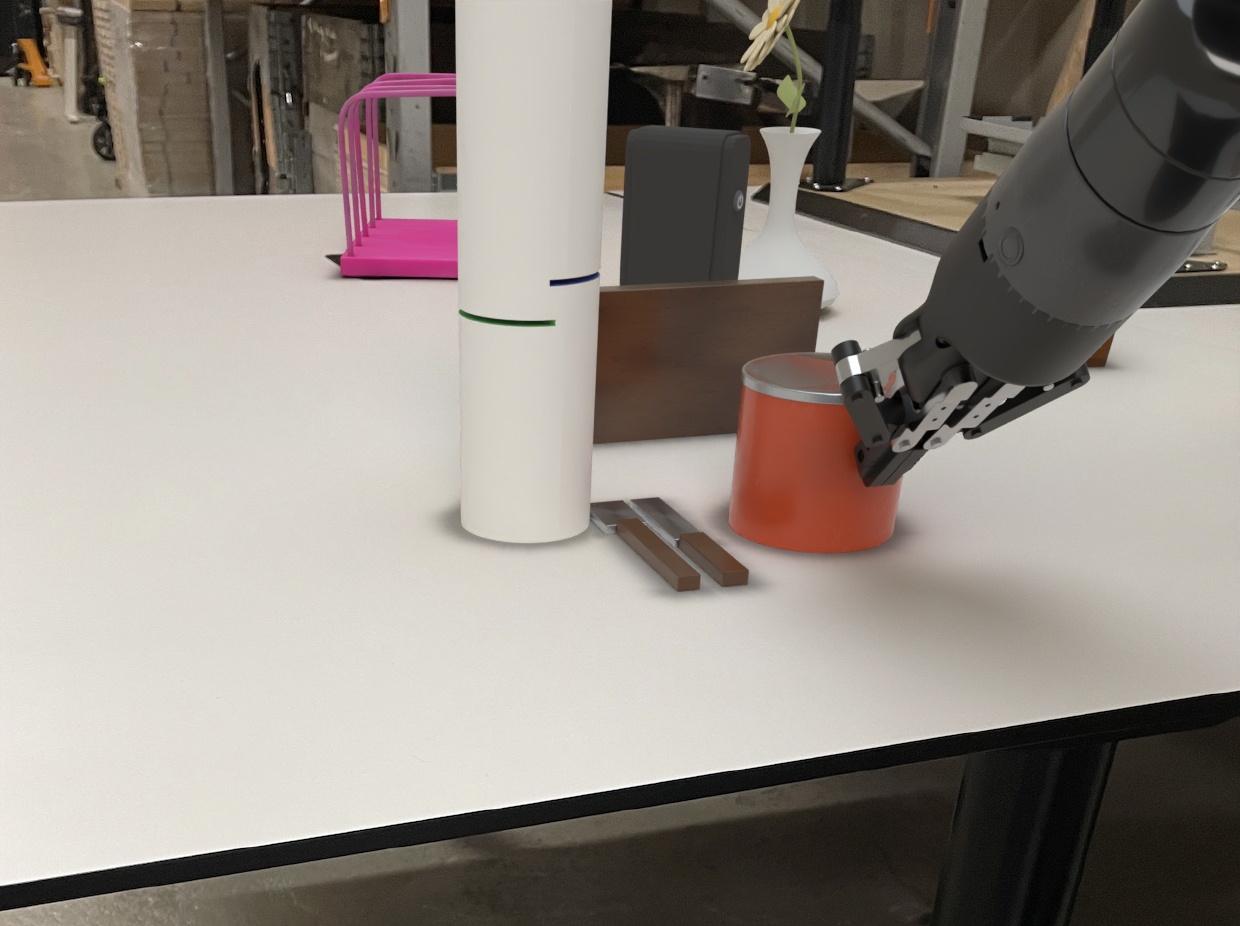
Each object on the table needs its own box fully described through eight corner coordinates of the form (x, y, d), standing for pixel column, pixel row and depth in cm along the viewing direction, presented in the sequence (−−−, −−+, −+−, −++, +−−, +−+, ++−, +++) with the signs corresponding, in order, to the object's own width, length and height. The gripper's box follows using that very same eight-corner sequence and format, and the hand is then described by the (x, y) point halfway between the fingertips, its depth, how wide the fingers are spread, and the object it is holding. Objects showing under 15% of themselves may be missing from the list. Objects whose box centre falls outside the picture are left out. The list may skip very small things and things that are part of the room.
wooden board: (796, 423, 95) (814, 275, 90) (806, 428, 94) (825, 280, 88) (570, 439, 91) (575, 287, 86) (578, 446, 90) (583, 292, 85)
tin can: (911, 514, 80) (938, 363, 75) (872, 565, 73) (898, 402, 68) (755, 491, 83) (771, 345, 78) (703, 538, 76) (717, 381, 71)
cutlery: (751, 585, 71) (753, 569, 70) (666, 593, 70) (667, 578, 69) (658, 505, 81) (659, 491, 80) (582, 512, 80) (582, 497, 79)
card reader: (738, 349, 112) (759, 130, 104) (715, 359, 110) (735, 135, 101) (637, 334, 116) (650, 123, 108) (613, 343, 114) (623, 127, 105)
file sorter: (340, 279, 135) (329, 86, 126) (372, 236, 156) (364, 67, 146) (521, 282, 135) (523, 88, 125) (529, 239, 155) (532, 69, 146)
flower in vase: (721, 295, 130) (750, -39, 115) (845, 304, 127) (892, -38, 112) (688, 323, 120) (716, -38, 105) (822, 334, 117) (870, -37, 102)
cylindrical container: (614, 530, 77) (644, -33, 62) (500, 552, 74) (504, -33, 59) (546, 494, 82) (560, -34, 67) (438, 513, 79) (427, -35, 64)
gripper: (1195, 145, 57) (969, 394, 74) (903, 151, 54) (736, 410, 70) (1245, 313, 56) (1004, 527, 72) (950, 330, 53) (769, 549, 69)
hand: (872, 469), depth 71 cm, fingers closed
